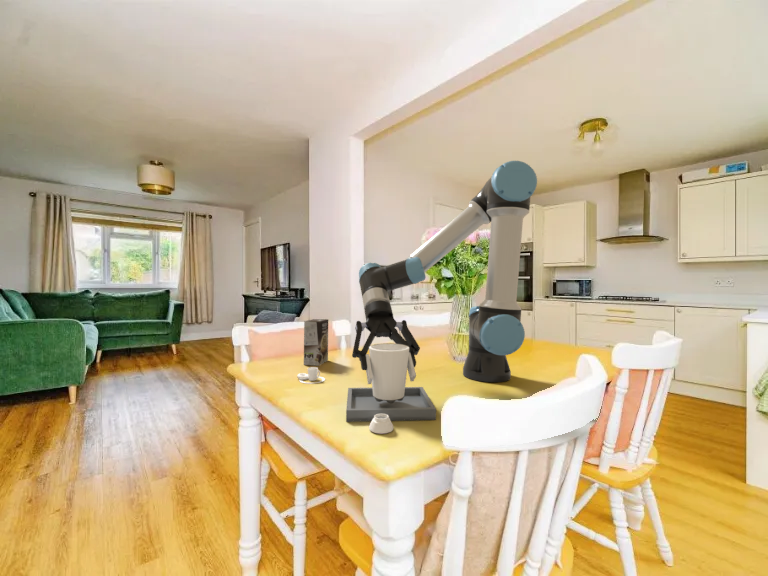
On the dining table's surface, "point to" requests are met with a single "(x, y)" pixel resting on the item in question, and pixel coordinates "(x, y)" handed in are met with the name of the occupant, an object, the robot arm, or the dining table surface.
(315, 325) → the coffee box
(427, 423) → the dining table surface
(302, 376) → the teacup and saucer
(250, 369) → the dining table surface
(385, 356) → the cup
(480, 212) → the robot arm
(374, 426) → the lidless jar
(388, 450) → the dining table surface
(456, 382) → the dining table surface
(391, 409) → the tray
